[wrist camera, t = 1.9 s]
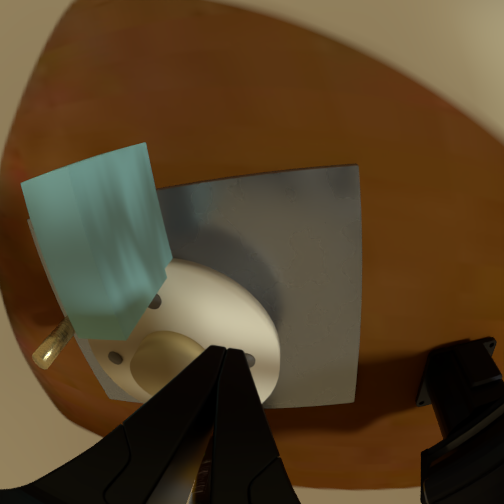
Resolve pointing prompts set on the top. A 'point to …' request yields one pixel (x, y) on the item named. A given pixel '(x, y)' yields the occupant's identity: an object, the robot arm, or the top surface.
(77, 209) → the flange
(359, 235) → the base
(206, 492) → the supplement bottle
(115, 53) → the top surface
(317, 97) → the top surface
